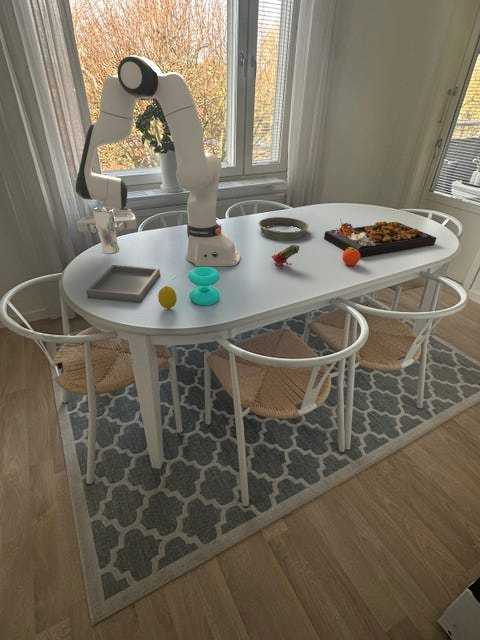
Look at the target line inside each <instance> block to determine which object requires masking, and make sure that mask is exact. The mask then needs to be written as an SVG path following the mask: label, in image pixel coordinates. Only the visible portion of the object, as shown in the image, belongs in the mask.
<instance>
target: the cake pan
mask: <svg viewBox="0 0 480 640" xmlns="http://www.w3.org/2000/svg"><path fill="white" fill-rule="evenodd" d="M257 224H258V226H259V227H260V231H261V234H262V235H263V234H264V235H263V236H265V237H267V238H269V237H270V239H273V238H274V239H273V240H281V241H286V240H287V241H292V240H291V239H293V240H297V238H298V239H300V237H301V238H303V237H304V236H305V232H306V230H308V228H309V224H308V223H307V222H306V221H304V220H301V219H299V218H298V219H297V218H293V217H289V216H288V217H287V216H285V217H284V216H272V217H271V216H270V217H267V218H262V219H261V220H259V221H258V223H257ZM273 225H288V226H287V227H289V226H293V227H297V228H299V229H301V230H300V231H295V232H280V231H273V230H274V229H268V227H267V226H270V227H274V226H273ZM264 227H266V228H264Z"/></svg>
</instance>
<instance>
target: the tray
mask: <svg viewBox="0 0 480 640" xmlns="http://www.w3.org/2000/svg"><path fill="white" fill-rule="evenodd" d="M160 277H161V270H160V268H156V267H145V266H142V267H141V266H133V265H132V266H131V265H130V266H129V265H120V264H111V266H110V267H109V268H107V269H106V270H105V271H104V272H103V273H102V274H101V275H100V276H99V277H98V278H97V279H96V280H95V281H94V282H92V284H91V285H90V286H89V287H87V288H85V292H86V296H87V299H90V300H91V299H94V300H103V301H106V300H107V301H114V302H115V301H116V302H127V303H138V304H140V303H142V301H143V300H144V299H145V297H147V295H148V293H149V292H150V291H151V290H152V287H154V285H155V284H156V283H157V281H158V279H160Z"/></svg>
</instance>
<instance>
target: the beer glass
mask: <svg viewBox="0 0 480 640" xmlns="http://www.w3.org/2000/svg"><path fill="white" fill-rule="evenodd" d="M92 213H93V216H94V221H95V226H96V229H97V232H98V233H97V235H98V237H99V239H100V242H101V253H102V254H104V255H115V254H117V253H119V252H120V247H119V245H118V240H117V239H118V238H117V235H118V234H117V233H118V232H116V227H117V224H116V218H115V214H114V210H113V208H111V207H100V206H99V207H95V208H93V209H92Z"/></svg>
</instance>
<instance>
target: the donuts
mask: <svg viewBox="0 0 480 640" xmlns="http://www.w3.org/2000/svg"><path fill="white" fill-rule="evenodd" d="M187 276H188V277H187V278H188V280H189V282H190V283H191V284H193V285H195V286H196V287H194V288H192V289H191V291H190V292H189V299H190V301H192V302H193V303H194V304H196V305H200V306H208V305H209V306H210V305H213V304H216V302H218V301H219V300H220V296H221V293H220V291H219V289H217V288H216V287H214V286H213V285H215V284H217V283H218V281H219V280H220V277H221V275H220V272H219V271H218V270H217V269H215V268H213V267H212V266H197V267H195V268H193V269H191V270H190V271H189V273H188V275H187Z"/></svg>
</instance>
